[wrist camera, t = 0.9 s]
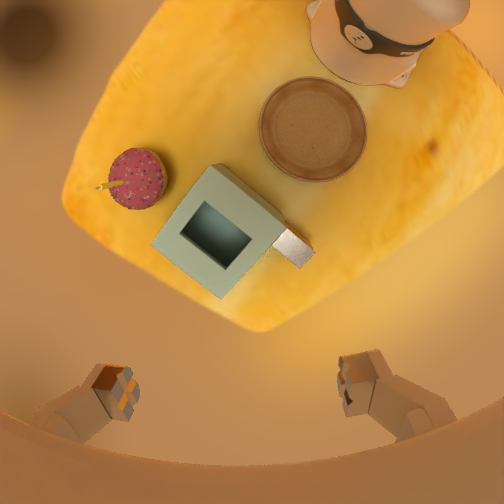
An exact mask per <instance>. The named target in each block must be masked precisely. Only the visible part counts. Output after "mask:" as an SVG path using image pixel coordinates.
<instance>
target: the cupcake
mask: <svg viewBox="0 0 504 504" xmlns="http://www.w3.org/2000/svg"><path fill="white" fill-rule="evenodd" d="M108 179H109V183H104V184H100V185H99V186H98V187H96V188H95V189H99V190H103V189H107V188H110V189H109V191H110V193H111V195H112V196H113V199H115V202H116V201H117V202H118V203H119V204H121V205H122V206H123V207H127V208H128V209H135V210H140V209H146V208H148V207H151V206H153V205H154V204H155V203H156V202H157V201H158V200H159V199H160V198H161V197H162V196H163V195H164V193H165V189H166V186H167V183H168V175H167V171H166V169H165V166H164V164H163V163H162V161H161V159H160V157H159V155H158V154H157V153H155V152H154V151H152V150H150V149H145V148H130V149H128V150H126V151H125V152H123V153H122V154H121V155H120V156H118V157H117V158H116V159H115V161H114V162H113V164H112V166H111V168H110V173H109V175H108Z"/></svg>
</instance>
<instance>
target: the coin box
mask: <svg viewBox="0 0 504 504" xmlns="http://www.w3.org/2000/svg"><path fill="white" fill-rule="evenodd" d="M285 229H286V225H285V222H284V220H283V217H282V214H281V213H280V212H279V211H278V210H277V209H276V208H275V207H273V206H272V205H271V204H270V203H269V202H268V201H266V200H265V199H264V198H263V197H262V196H260V195H259V194H258V193H257V192H256V191H254V190H253V189H252V188H251V187H249V186H248V185H247V184H246V183H245V182H243V181H242V180H241V179H240V178H238V177H237V176H236V175H235V174H234V173H232V172H231V171H230V170H229V169H227V168H226V167H225V166H224V165H222V164H213V165H209V167H208V168H207V169H206V171H205V172H204V173H203V174H202V176H201V177H200V178H199V179H198V181H197V182H196V183H195V185H194V186H193V187H192V188H191V190H190V191H189V192H188V194H187V195H186V196H185V198H184V199H183V200H182V202H181V203H180V204H179V206H178V207H177V208H176V210H175V211H174V213H173V214H172V215H171V217H170V218H169V219H168V221H167V222H166V224H165V225H164V226H163V228H162V229H161V231H160V232H159V234H158V235H157V236H156V238H155V239H154V241H153V242H152V244H151V246H152V247H154V248H155V249H156V250H157V251H159V252H160V253H161V254H162V255H164V256H165V257H166V258H167V259H169V260H170V261H171V262H172V263H174V264H175V265H176V266H178V267H179V268H180V269H181V270H183V271H184V272H185V273H186V274H188V275H189V276H190V277H192V278H193V279H194V280H196V281H197V282H198V283H199V284H201V285H202V286H203V287H205V288H206V289H207V290H209V291H210V292H211V293H213V294H214V295H215V296H217V297H218V298H219V299H222V298H223V297H224V296H225V295H226V294H227V293H228V292H229V291H230V289H231V288H232V287H233V286H234V285H235V284H236V283H237V282H238V281H239V280H240V278H241V277H242V276H243V275H244V274H245V273H246V272H247V271H248V270H249V269H250V267H251V266H252V265H253V264H254V263H255V262H256V261H257V260H258V259H259V257H260V256H261V255H262V254H263V253H264V252H265V251H266V250H267V249H268V248H269V246H270V245H271V244H272V243H273V242H274V241H275V240H276V239H277V238H278V236H279V235H280V234H281V233H282V232H283V231H284V230H285Z"/></svg>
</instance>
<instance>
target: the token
mask: <svg viewBox="0 0 504 504" xmlns="http://www.w3.org/2000/svg"><path fill="white" fill-rule="evenodd" d="M284 222H285V225H286V229H285V230H284V231H283V232H282V233H281V234H280V235H279V236H278V238H277V239H276V240H275V241H274V242H273V243H272V244H271V245H272V246H273V247H274V248H275V249H276V250H278V251H279V252H280V253H281V254H282V255H284V256H285V257H286V258H287V259H288V260H290V261H291V262H292V263H293V264H294V265H296V266H297V267H298V268H299V269H300V268H301V267H302V266H303V265H304V264H305V263H306V262H307V261H308V260H309V259H310V258H311V257H312V255H313V254H314V253H315V251H314V250H313V248H312V246H311V244H310V242H309V241H308V240H307V239H305V238H304V237H303V236H302V235H301V234H300V233H299V232H297V231H296V230H295V229H294V228H293V227H292V226H290V225H289V224H288V223H287V222H286V221H285V220H284Z"/></svg>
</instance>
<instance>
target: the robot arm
mask: <svg viewBox="0 0 504 504" xmlns="http://www.w3.org/2000/svg"><path fill="white" fill-rule="evenodd" d="M469 8H470V0H317V1H314V2H312V3H310V4H309V5H308V6H307V8H306V14H307V16H308V18H309V20H310V23H311V30H310V39H311V44H312V47H313V49H314V51H315V53H316V55H317V57H318V58H319V59H320V61H321V62H322V63H323V64H324V65H325V66H326V67H327V68H328V69H329V70H330V71H332V72H333V73H334V74H336V75H337V76H339V77H341V78H343V79H345V80H347V81H349V82H352V83H356V84H361V85H377V84H385V85H388V86H391V87H395V88H401V87H403V86H404V85H405V84H406V82H407V80H408V78H409V76H410V74H411V72H412V70H413V68H414V67H415V66H416V65H417V64H416V61H417V59H418V57H419V55H420V53H421V51H422V50H424V49H425V48H427V46H428V45H430V44H431V43H432V42H433V40H434V39H435V37H437V36H438V35H440V34H442V33H444V32H445V31H447V30H449V29H451V28H453V27H454V26H456V25H458V24H460V23H461V22H462V21H463V20H464V19H465V18H466V16H467V14H468V12H469ZM401 76H402V77H401ZM338 365H339V368H340V371H339V372H338V376H337V377H338V378H337V383H338V391H339V395H340V397H342V398H343V404H342V405H343V408H344V412H345V415H346V417H350V416H357V415H363V414H367V413H368V415H369V416H371V417H372V418H373V419H374V420H376V421H377V422H378V423H379V424H381V425H382V426H383V427H384V428H386V429H387V430H388V431H389V432H391V433H392V434H393V435H394V436H396V437H397V439H396V442H395V443H394V444H390V445H387V446H383V447H379V448H375V449H371V450H367V451H363V452H359V453H354V454H349V455H344V456H338V457H333V458H327V459H320V460H313V461H305V462H297V463H286V464H273V465H251V466H222V465H200V464H186V463H177V462H169V461H161V460H154V459H147V458H142V457H136V456H130V455H126V454H121V453H116V452H111V451H108V450H103V449H99V448H96V447H92V446H88V445H85V444H84V443H85V442H86V441H87V440H89V439H90V438H91V437H92V436H94V435H95V434H96V433H97V432H98V431H99V430H101V429H102V428H103V427H104V426H106V425H107V424H108V423H109V422H110V421H111V420H112V419H113V420H120V421H128V422H129V420H130V418H131V416H132V414H133V411H134V409H133V407H132V406H133V405H135V404H136V403H137V402H138V400H139V396H140V389H139V385H138V383H137V382H136V381H135V380H134V379H133V378H132V376H133V372H132V371H131V368H130V367H128V366H119V365H110V364H108V365H107V364H96V365H95V367H94V368H93V370H92V371H91V372H90V374H89V375H88V377H87V378H86V380H85V381H84V383H83V384H82V385H81V387H80V386H77V387H76V388H74V389H72V390H70V391H68V392H67V393H65V394H63V395H61V396H59V397H57V398H56V399H54V400H52V401H50V402H48V403H46V404H44V405H43V406H41V407H39V409H38V410H37V411H36V413H35V414H34V416H33V417H32V418H31V420H30V421H29V423H28V424H26V423H24V422H22V421H19V420H17V419H15V418H13V417H11V416H9V415H7V414H5V413H2V412H1V411H0V504H504V397H503V398H501V399H499V400H497V401H495V402H494V403H492V404H490V405H488V406H486V407H484V408H482V409H481V410H478V411H476V412H475V413H472V414H470V415H468V416H466V417H464V418H462V419H459V420H457V418H456V416H455V415H454V413H453V411H452V410H451V408H450V406H449V404H448V403H447V401H446V400H445V398H443V397H441V396H439V395H437V394H435V393H432V392H430V391H428V390H426V389H424V388H422V387H420V386H418V385H416V384H414V383H412V382H410V381H408V380H406V379H404V378H402V377H400V376H398V375H395V376H394V375H393V374H392V372H391V370H390V368H389V366H388V364H387V363H386V361H385V359H384V357H383V355H382V354H381V352H380V350H378V349H375V350H370V351H366V352H362V353H356V354H351V355H345V356H340V357H339V364H338Z"/></svg>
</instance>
